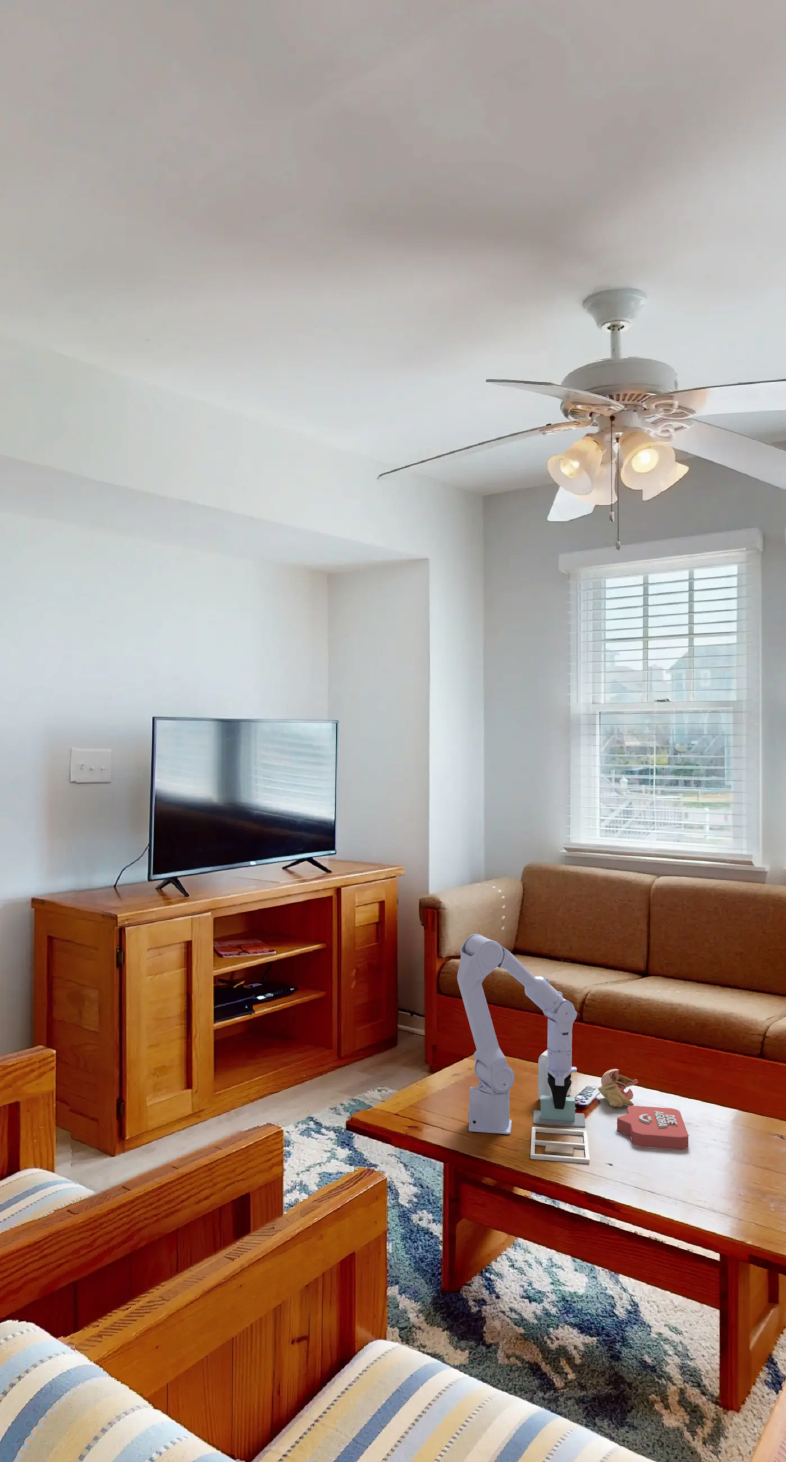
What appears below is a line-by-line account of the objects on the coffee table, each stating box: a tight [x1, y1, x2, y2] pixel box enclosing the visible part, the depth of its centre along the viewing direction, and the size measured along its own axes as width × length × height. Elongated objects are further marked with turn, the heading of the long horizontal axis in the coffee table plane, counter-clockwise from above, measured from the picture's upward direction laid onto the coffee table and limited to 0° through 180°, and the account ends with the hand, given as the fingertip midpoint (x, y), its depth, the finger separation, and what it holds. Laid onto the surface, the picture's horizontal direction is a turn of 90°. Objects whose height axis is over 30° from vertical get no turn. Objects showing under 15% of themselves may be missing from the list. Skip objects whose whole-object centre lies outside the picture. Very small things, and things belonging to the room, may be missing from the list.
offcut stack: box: [544, 1145, 575, 1157], centre depth 208 cm, size 6×4×2 cm, turn 78°
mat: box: [532, 1109, 586, 1129], centre depth 227 cm, size 12×8×1 cm, turn 81°
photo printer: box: [537, 1049, 572, 1101], centre depth 243 cm, size 10×4×12 cm, turn 134°
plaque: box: [616, 1105, 689, 1151], centre depth 220 cm, size 18×4×15 cm
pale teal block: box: [540, 1095, 576, 1121], centre depth 228 cm, size 8×2×5 cm, turn 81°
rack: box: [530, 1126, 591, 1164], centre depth 212 cm, size 12×16×1 cm
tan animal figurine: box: [597, 1068, 639, 1108], centre depth 239 cm, size 9×10×10 cm
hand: (559, 1106), depth 228 cm, fingers closed on pale teal block, 2 cm apart
